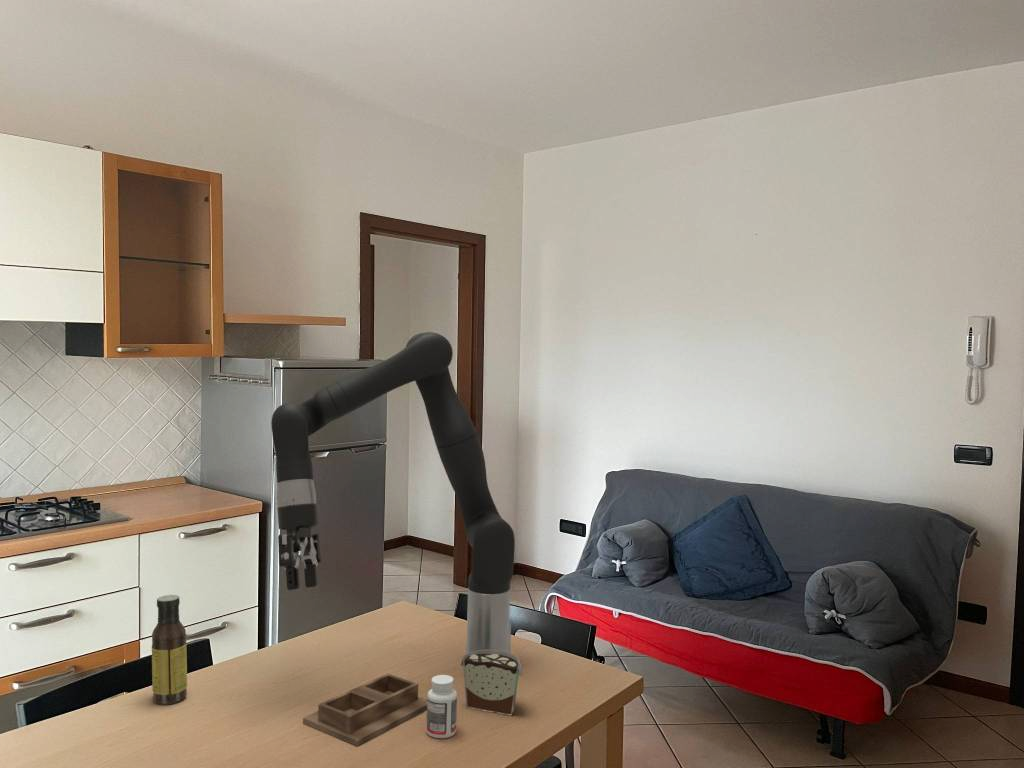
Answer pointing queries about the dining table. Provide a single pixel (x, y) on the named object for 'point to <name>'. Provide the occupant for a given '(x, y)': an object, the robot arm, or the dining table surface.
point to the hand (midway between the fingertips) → (302, 588)
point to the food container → (491, 680)
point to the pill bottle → (441, 707)
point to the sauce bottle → (169, 653)
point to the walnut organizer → (368, 709)
